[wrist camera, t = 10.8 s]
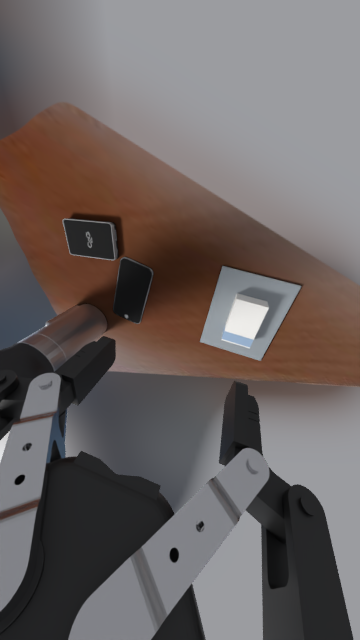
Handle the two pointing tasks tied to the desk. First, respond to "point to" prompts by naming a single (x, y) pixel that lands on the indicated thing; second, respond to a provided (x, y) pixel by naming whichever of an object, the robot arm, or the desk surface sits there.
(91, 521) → the robot arm
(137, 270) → the smartphone
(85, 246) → the external hard drive
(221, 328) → the mat
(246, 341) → the card box
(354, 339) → the desk surface
